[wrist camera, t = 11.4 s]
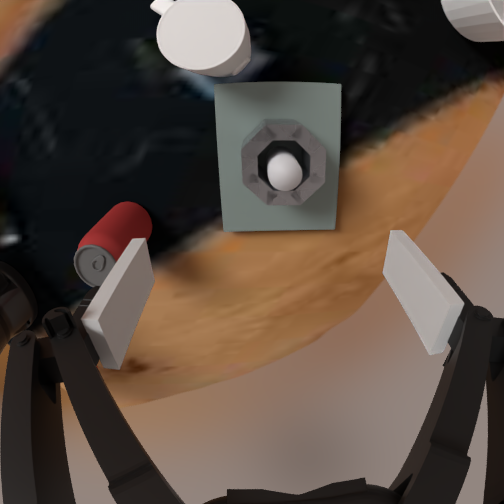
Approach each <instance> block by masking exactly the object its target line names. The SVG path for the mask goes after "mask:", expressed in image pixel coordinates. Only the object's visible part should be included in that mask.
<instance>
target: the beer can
mask: <svg viewBox="0 0 504 504" xmlns="http://www.w3.org/2000/svg"><path fill="white" fill-rule="evenodd" d="M151 233H152V222H151V218H150V216H149V214H148V213H147V211H146V210H145V209H144V208H143V207H142V206H140V205H138V204H136V203H133V202H121V203H119V204H117V205H115V206H114V207H113V208H112V209H111V210H110V211H109V212H108V213H107V214H106V215H105V216H104V217H103V218H102V219H101V220H100V221H99V222H98V223H97V224H96V225H95V226H94V227H93V228H92V229H91V230H90V231H89V232H88V233H87V234H86V235H85V236H84V237H83V239H82V240H81V241H80V244H79V246H78V250H77V252H76V253H75V257H74V266H75V269H76V271H77V273H78V275H79V276H80V278H81V279H82V280H83V281H84V282H85V283H86V284H88V285H90V286H92V287H95V286H101V285H102V284H103V282H104V281H105V279H106V278H107V276H108V274H109V273H110V271H111V270H112V268H113V267H114V265H115V264H116V262H117V261H118V259H119V258H120V256H121V255H122V253H123V252H124V250H125V249H126V247H127V246H128V245H129V243H130V242H131V240H132V239H136V238H146V242H147V240H148V239H149V237H150V235H151Z"/></svg>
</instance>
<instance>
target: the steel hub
mask: <svg viewBox="0 0 504 504" xmlns="http://www.w3.org/2000/svg"><path fill="white" fill-rule="evenodd" d="M273 140H295V141H296V142H297V143H299V144H300V145H301V146H302V163H301V164H300V167H301V169H302V180H301V182H300V184H299V185H298V186H297V187H296V188H294V189H292V190H289V191H281V190H278V189H276V188H275V187H273V186H272V185H271V183H270V181H269V178H268V172H267V171H266V170H265V169H264V168H263V167H262V166H260V165H259V164H258V160H257V156H258V155H259V154H260V153H261V152H262V151H263V150H264V149H265V148H266V147H267V146H268V145H269V144H270V143H271V142H272V141H273ZM241 161H242V183H243V184H244V185H245V186H246V187H247V188H248V189H249V190H250V191H252V192H253V193H254V194H255V195H256V196H257V197H258V198H259V199H261V200H262V201H263V202H264V203H265V204H266V205H301V204H302V203H303V202H304V201H306V200H307V199H308V198H309V197H310V196H311V195H312V194H313V193H314V192H315V191H316V190H317V189H319V188H320V187H321V186H322V185H323V184H324V183H325V169H326V149H325V148H324V147H323V146H322V145H321V144H320V143H319V142H318V140H317V139H316V138H315V137H314V136H313V135H312V134H311V133H310V132H309V131H308V130H307V129H306V128H305V127H304V126H303V125H302V124H300V123H299V122H297V121H296V120H295V119H264V120H263V121H262V122H261V123H260V124H259V125H258V126H257V127H256V128H255V129H254V130H253V131H252V132H251V133H250V134H249V135H248V136H247V137H246V138H245V139H244V140H243V144H242V148H241Z"/></svg>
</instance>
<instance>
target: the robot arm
mask: <svg viewBox="0 0 504 504" xmlns="http://www.w3.org/2000/svg"><path fill="white" fill-rule="evenodd" d="M383 275H384V277H385V278H386V280H387V281H388V283H389V284H390V286H391V288H392V290H393V291H394V293H395V295H396V296H397V298H398V300H399V301H400V303H401V305H402V306H403V308H404V310H405V312H406V314H407V315H408V317H409V319H410V321H411V322H412V324H413V326H414V328H415V329H416V331H417V333H418V335H419V337H420V338H421V341H422V342H423V344H424V346H425V348H426V350H427V352H428V354H429V355H433V354H438V353H443V351H444V349H445V347H446V345H447V343H449V345H450V347H451V350H450V352H449V354H448V356H447V358H446V360H445V362H444V364H443V366H444V370H443V373H442V376H441V379H440V382H439V385H438V388H437V390H436V393H435V395H434V398H433V401H432V403H431V406H430V408H429V411H428V413H427V416H426V418H425V421H424V423H423V425H422V427H421V430H420V432H419V434H418V436H417V439H416V441H415V443H414V445H413V447H412V449H411V452H410V453H409V456H408V458H407V459H406V461H405V463H404V465H403V467H402V469H401V471H400V473H399V474H398V476H397V477H396V479H395V480H394V482H393V483H392V484H391V486H390V487H389V489H387V488H385V487H381V486H377V485H369V484H366V480H365V478H360V479H355V480H349V481H343V482H336V483H332V484H329V485H326V486H324V487H321V488H318V489H315V490H312V491H309V492H307V493H303V494H300V495H294V494H287V493H281V492H275V491H269V490H263V489H227V496H223V497H219V498H216V499H213V500H210V501H208V502H205V503H204V504H455V503H456V500H457V498H458V496H459V493H460V491H461V488H462V486H463V483H464V480H465V477H466V475H467V472H468V469H469V466H470V462H471V458H470V457H468V456H467V453H468V449H469V446H470V443H471V439H472V436H473V432H474V429H475V425H476V421H477V418H478V413H479V409H480V405H481V400H482V396H483V391H484V386H485V381H486V387H487V402H488V403H487V405H488V452H487V468H486V480H485V490H484V501H483V504H504V319H503V318H494V317H493V315H492V314H491V313H490V311H488V310H487V309H486V308H483V307H481V306H474V305H473V304H472V303H471V301H470V300H469V299H468V298H467V296H466V295H465V294H464V293H463V291H461V289H460V288H459V286H457V284H456V283H455V282H454V280H453V279H452V278H451V277H449V276H448V275H446V274H445V273H440V272H439V271H438V270H437V269H436V267H435V266H434V265H433V264H432V263H431V262H430V260H429V259H428V258H427V257H426V256H425V255H424V254H423V252H422V251H421V250H420V249H419V248H418V247H417V246H416V245H415V243H414V242H413V241H412V240H411V239H410V238H409V237H408V236H407V235H406V233H405V232H404V231H403V230H390V236H389V242H388V247H387V253H386V258H385V263H384V269H383ZM154 282H155V279H154V275H153V271H152V266H151V262H150V257H149V252H148V247H147V242H146V238H136V239H132V240H131V242H130V243H129V245H128V246H127V247H126V249H125V250H124V252H123V253H122V255H121V256H120V258H119V259H118V261H117V262H116V264H115V265H114V267H113V268H112V270H111V271H110V273H109V274H108V276H107V278H106V279H105V281H104V282H103V284H102V285H101V286H95V287H93V288H92V289H91V290H90V291H88V292H87V294H86V295H85V297H84V298H83V300H82V302H81V303H80V306H78V308H77V309H76V311H75V313H74V314H73V316H72V314H71V312H70V310H69V309H68V308H66V307H57V308H54V309H52V310H50V311H49V312H47V313H46V314H45V315H44V317H43V319H42V325H43V327H44V329H45V330H46V332H47V334H48V336H49V337H45V338H39V339H37V337H36V335H35V334H34V333H33V332H32V331H29V330H27V331H23V330H25V329H26V328H28V327H29V326H30V325H31V324H32V323H33V321H34V320H35V319H36V317H37V314H38V305H37V301H36V298H35V295H34V293H33V291H32V289H31V287H30V286H29V284H28V283H27V281H26V280H25V279H24V278H23V276H22V275H21V274H20V273H19V272H18V271H17V270H16V269H14V268H13V267H12V266H10V265H9V264H7V263H5V262H2V261H0V354H1V352H2V351H3V349H4V347H5V346H6V344H7V343H8V342H9V340H10V339H11V338H12V337H14V336H15V335H16V336H15V337H14V338H13V339H12V342H11V345H10V350H9V356H8V362H7V369H6V376H5V385H4V394H3V403H2V417H1V479H2V480H1V481H2V494H3V503H4V504H76V502H75V498H74V493H73V488H72V483H71V478H70V473H69V467H68V461H67V454H66V447H65V439H64V430H63V420H62V409H61V392H60V383H61V382H64V385H65V388H66V390H67V393H68V396H69V398H70V401H71V403H72V406H73V408H74V411H75V413H76V416H77V418H78V420H79V423H80V425H81V427H82V429H83V432H84V434H85V436H86V438H87V441H88V443H89V445H90V447H91V449H92V451H93V453H94V455H95V457H96V459H97V461H98V463H99V465H100V467H101V469H102V470H103V472H104V474H105V476H106V478H107V480H108V482H109V486H108V488H109V491H110V493H111V494H112V496H113V498H114V500H115V501H116V503H117V504H185V503H184V502H183V501H182V500H181V498H180V497H179V496H178V495H177V494H176V492H175V491H174V490H173V488H172V487H171V486H170V485H169V483H168V482H167V481H166V479H165V478H164V477H163V475H162V474H161V473H160V471H159V470H158V468H157V467H156V465H155V464H154V463H153V461H152V460H151V459H150V457H149V455H148V454H147V452H146V451H145V450H144V448H143V446H142V445H141V443H140V442H139V440H138V439H137V437H136V436H135V434H134V433H133V431H132V429H131V428H130V426H129V425H128V423H127V421H126V419H125V418H124V416H123V414H122V413H121V411H120V409H119V407H118V406H117V404H116V402H115V400H114V399H113V397H112V395H111V393H110V391H109V389H108V388H107V386H106V384H105V382H104V380H103V378H102V376H101V374H100V372H99V370H98V368H97V366H96V365H97V363H98V361H99V359H100V361H101V363H102V365H103V367H104V368H108V369H118V370H120V367H121V364H122V362H123V359H124V356H125V354H126V351H127V349H128V346H129V343H130V341H131V338H132V336H133V333H134V331H135V328H136V326H137V323H138V321H139V318H140V316H141V313H142V311H143V308H144V306H145V304H146V301H147V299H148V296H149V294H150V292H151V289H152V287H153V285H154ZM22 331H23V332H22Z"/></svg>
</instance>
